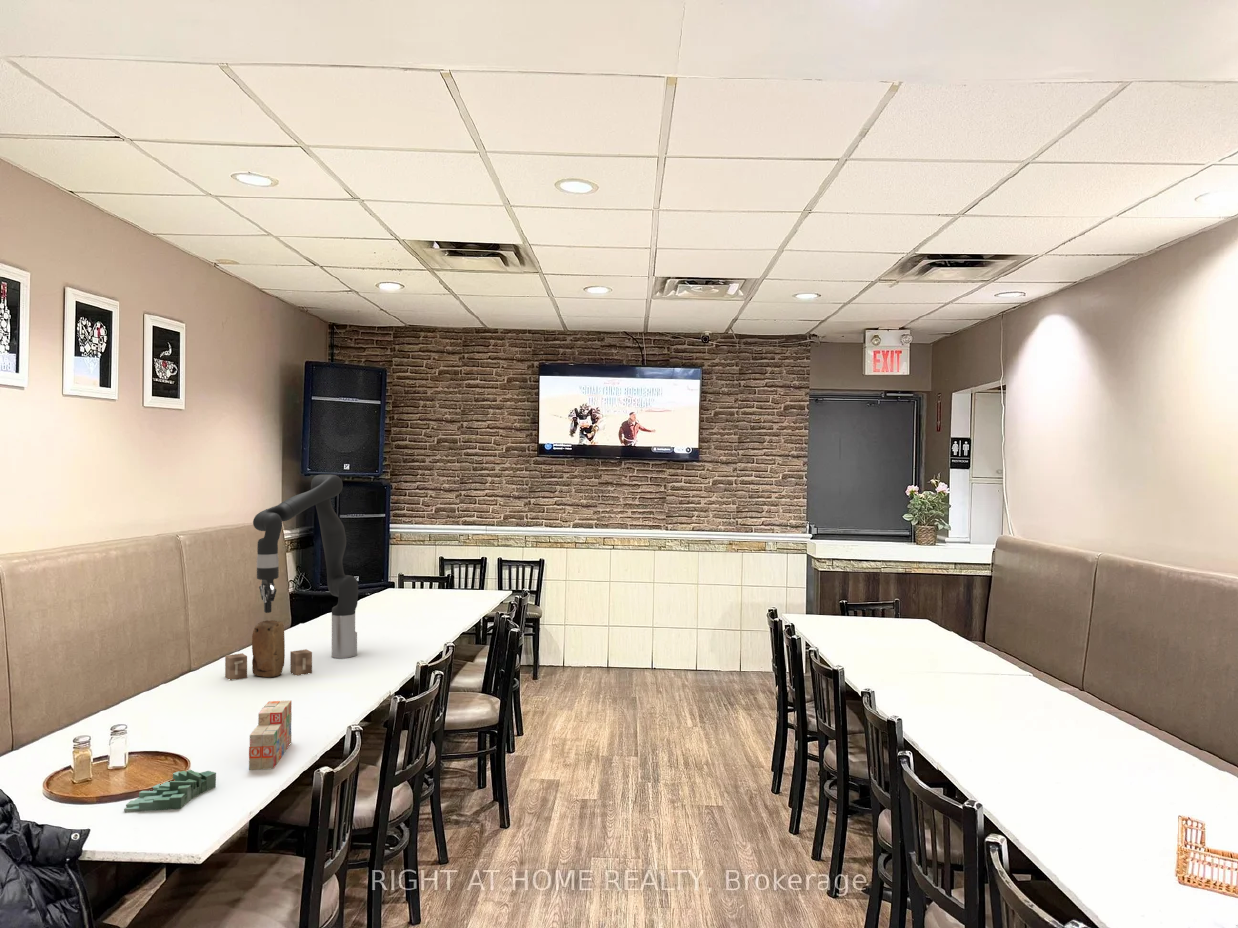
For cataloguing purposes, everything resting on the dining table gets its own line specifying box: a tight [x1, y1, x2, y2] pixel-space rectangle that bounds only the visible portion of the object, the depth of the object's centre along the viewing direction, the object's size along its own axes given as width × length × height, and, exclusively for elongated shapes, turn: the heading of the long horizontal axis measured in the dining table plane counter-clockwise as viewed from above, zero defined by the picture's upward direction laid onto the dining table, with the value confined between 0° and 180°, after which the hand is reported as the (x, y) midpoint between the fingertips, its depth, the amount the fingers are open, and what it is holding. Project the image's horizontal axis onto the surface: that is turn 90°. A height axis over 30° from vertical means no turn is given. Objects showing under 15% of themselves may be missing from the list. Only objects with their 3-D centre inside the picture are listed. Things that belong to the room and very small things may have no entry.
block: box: [251, 619, 286, 678], centre depth 315 cm, size 11×8×20 cm
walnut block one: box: [289, 648, 313, 676], centre depth 319 cm, size 6×6×8 cm
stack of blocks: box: [248, 700, 293, 771], centre depth 230 cm, size 21×6×12 cm, turn 10°
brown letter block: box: [224, 652, 248, 681], centre depth 312 cm, size 6×6×8 cm
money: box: [123, 769, 217, 813], centre depth 203 cm, size 20×16×5 cm
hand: (267, 612), depth 315 cm, fingers closed
